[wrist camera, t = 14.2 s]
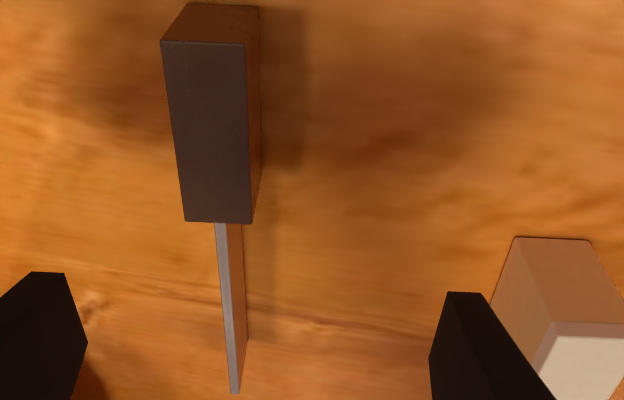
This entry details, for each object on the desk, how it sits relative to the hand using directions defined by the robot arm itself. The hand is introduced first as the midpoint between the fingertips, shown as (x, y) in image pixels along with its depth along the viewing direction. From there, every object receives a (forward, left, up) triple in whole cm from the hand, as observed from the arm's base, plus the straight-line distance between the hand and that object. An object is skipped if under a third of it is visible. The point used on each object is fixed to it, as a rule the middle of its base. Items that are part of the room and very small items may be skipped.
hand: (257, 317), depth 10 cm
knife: (-5, +2, -9) cm, 11 cm away
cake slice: (-10, -11, -9) cm, 18 cm away
